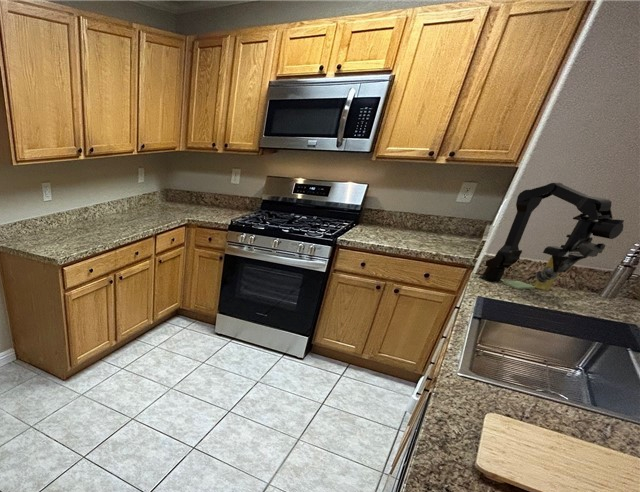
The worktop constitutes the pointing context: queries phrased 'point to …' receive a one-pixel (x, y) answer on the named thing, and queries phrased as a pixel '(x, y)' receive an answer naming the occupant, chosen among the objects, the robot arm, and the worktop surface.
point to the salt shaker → (551, 272)
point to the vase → (548, 283)
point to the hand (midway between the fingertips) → (558, 272)
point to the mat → (518, 285)
